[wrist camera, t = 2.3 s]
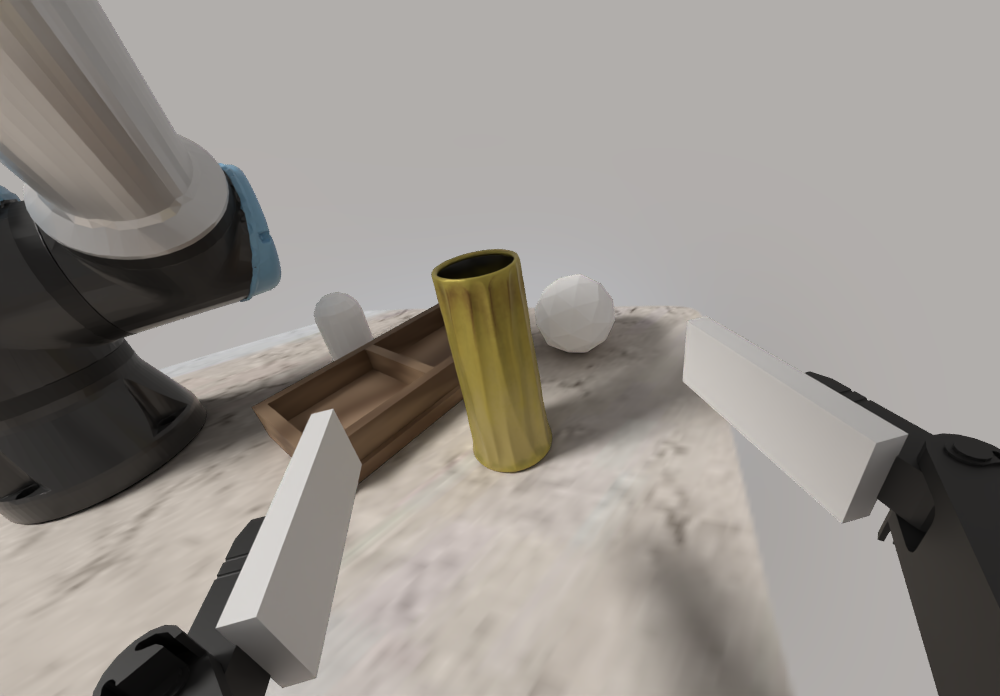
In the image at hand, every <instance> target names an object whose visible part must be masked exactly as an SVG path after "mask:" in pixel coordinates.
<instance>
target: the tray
mask: <svg viewBox="0 0 1000 696" xmlns="http://www.w3.org/2000/svg"><path fill="white" fill-rule="evenodd" d="M462 399H463V394H462V391H461V387H460V383H459V379H458V376H457V372H456V368H455V364H454V360H453V356H452V352H451V349H450V345H449V341H448V337H447V333H446V328H445V324H444V320H443V316H442V313H441V310H440V306H439V303H438V304H437V305H435V306H433V307H431V308H429V309H428V310H426V311H424V312H422V313H420V314H419V315H417V316H415V317H413V318H411V319H410V320H408V321H406V322H404V323H402V324H401V325H399V326H397V327H395V328H393V329H392V330H390V331H388V332H386V333H384V334H383V335H381V336H379V337H377V338H375V339H374V340H372V341H370V342H368V343H366V344H365V345H363V346H361V347H359V348H357V349H356V350H354V351H352V352H350V353H348V354H347V355H345V356H343V357H341V358H339V359H338V360H336V361H334V362H332V363H330V364H329V365H327V366H325V367H323V368H321V369H319V370H318V371H316V372H314V373H312V374H310V375H309V376H307V377H305V378H303V379H301V380H300V381H298V382H296V383H294V384H292V385H291V386H289V387H287V388H285V389H283V390H282V391H280V392H278V393H276V394H274V395H273V396H271V397H269V398H267V399H265V400H264V401H262V402H260V403H258V404H256V405H255V406H253V407H252V409H253V410H254V412H255V413H256V415H257V416H258V418H259V419H260V421H261V422H262V424H263V426H264V428H265V430H266V431H267V433H268V434H269V436H270V437H271V438H272V439H273V440H274V441H275V442H276V443H277V444H278V445H279V446H280V447H281V448H282V449H283V450H284V451H285V452H287V453H288V454H289V455H290V456H291V457H292V456H293V454H294V452H295V449H296V447H297V445H298V443H299V441H300V438H301V436H302V434H303V432H304V429H305V427H306V425H307V423H308V420H309V418H310V416H311V414H314V413H318V412H322V411H326V410H330V409H334V411H335V413H336V415H337V417H338V419H339V421H340V423H341V424H342V426H343V428H344V430H345V432H346V434H347V436H348V438H349V440H350V442H351V444H352V446H353V448H354V450H355V452H356V454H357V456H358V458H359V460H360V462H361V464H362V466H361V471H360V476H359V480H358V484H359V483H360V482H361V481H363V480H364V479H365V478H366V477H367V476H369V475H370V474H371V473H372V472H374V471H375V470H376V469H377V468H379V467H380V466H381V465H382V464H383V463H385V462H386V461H387V460H388V459H390V458H391V457H392V456H393V455H395V454H396V453H397V452H398V451H399V450H401V449H402V448H403V447H404V446H406V445H407V444H408V443H409V442H411V441H412V440H413V439H414V438H415V437H417V436H418V435H419V434H420V433H422V432H423V431H424V430H425V429H427V428H428V427H429V426H430V425H431V424H433V423H434V422H435V421H436V420H438V419H439V418H440V417H441V416H443V415H444V414H445V413H446V412H447V411H449V410H450V409H451V408H452V407H454V406H455V405H456V404H457V403H459V402H460V401H461V400H462Z"/></svg>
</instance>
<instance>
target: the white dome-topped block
mask: <svg viewBox="0 0 1000 696" xmlns="http://www.w3.org/2000/svg"><path fill="white" fill-rule="evenodd" d="M314 317H315V321H316V324H317V326H318V328H319V330H320V332H321V334H322V337H323V339H324V341H325V343H326V345H327V347H328V349H329V351H330V354H331V356H332V358H333V360H334V361H336V360H338V359H339V358H341V357H343V356H345V355H347V354H348V353H350V352H352V351H354V350H356V349H357V348H359V347H361V346H363V345H365V344H366V343H368V342H370V341H372V340H374V338H373V336H372V333H371V331H370V328H369V326H368V323H367V320H366V318H365V315H364V313H363V310H362V308H361V307H360V305H359V303H358V302H357V301H356V300H355V299H354V298H353V297H351V296H350V295H348V294H343V293H339V292H335V293H330V294H327V295H325V296H324V297H322V298H321V299H320V301H319V302H318V303H317V304H316V307H315V311H314Z"/></svg>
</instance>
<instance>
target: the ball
mask: <svg viewBox="0 0 1000 696" xmlns="http://www.w3.org/2000/svg"><path fill="white" fill-rule="evenodd" d="M535 317H536V325H537V327H538V328H539V330H540V332H541V334H542V335H543V337H544V339H545V341H546V342H547V344H548V345H550V346H553V347H555V348H558V349H560V350H563V351H566V352H568V353H575V352H588V351H590V350H591V349H593V348H594V347H596V346H597V345H599V344H600V343H602V342H604V341H605V340H606V338H607V336H608V334H609V332H610V330H611V328H612V326H613V324H614V322H615V313H614V305H613V299H612V298H611V296H610V295H609V294H608V292H607V291H606V290H605V288H604V287H603V286H602V284H601V283H599V282H597V281H595V280H592V279H590V278H588V277H586V276H584V275H582V274H577V275H571V276H566V277H561V278H560V279H557V280H556V281H554V282H553V283H552V284H550V285H549V286H548V287H547V288H545V289H544V290H543V292H542V294H541V297H540V299H539V301H538V303H537V305H536V307H535Z"/></svg>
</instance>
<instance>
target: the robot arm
mask: <svg viewBox="0 0 1000 696" xmlns="http://www.w3.org/2000/svg"><path fill="white" fill-rule="evenodd" d="M0 162H1V163H2V164H3V165H4V166H6V167H7V168H8V169H9V170H10V171H12V172H13V173H14V174H15V175H17V176H18V177H19V178H20V179H21V180H23V181H24V188H23V193H24V194H23V195H24V201H20V199H19V197H18V196H17V195H16V194H14V193H11V192H10V191H8V189H6V188H5V187H3V186H0V514H2V515H3V516H4V517H6V518H7V519H8V520H10V521H11V522H14V523H17V524H34V523H40V522H45V521H49V520H53V519H57V518H60V517H63V516H66V515H69V514H72V513H75V512H77V511H80V510H82V509H85V508H87V507H89V506H92V505H94V504H96V503H98V502H101V501H103V500H105V499H107V498H109V497H111V496H113V495H115V494H117V493H118V492H120V491H122V490H124V489H126V488H128V487H129V486H131V485H133V484H134V483H136V482H138V481H139V480H141V479H143V478H144V477H146V476H147V475H149V474H150V473H152V472H153V471H155V470H156V469H158V468H159V467H160V466H162V465H163V464H165V463H166V462H167V461H168V460H170V459H171V458H172V457H174V456H175V455H176V454H177V453H178V452H180V451H181V450H182V449H183V448H184V447H185V446H186V445H187V444H188V443H189V442H190V441H191V440H192V439H193V438H194V437H195V436H196V434H197V433H198V432H199V431H200V429H201V428H202V426H203V424H204V422H205V420H206V410H205V408H204V407H203V406H202V404H201V403H200V401H199V400H198V399H197V397H196V396H195V395H194V394H193V393H192V392H191V391H189V390H188V389H186V388H185V387H183V386H182V385H180V384H179V383H177V382H176V381H174V380H173V379H171V378H170V377H168V376H167V375H165V374H163V373H162V372H160V371H159V370H157V369H156V368H154V367H153V366H151V365H150V364H148V363H147V362H145V361H144V360H142V359H141V358H140V357H139V356H138V355H137V354H136V353H135V351H134V350H133V349H132V348H131V346H130V345H129V344H128V343H127V341H126V340H125V339H124V337H127V336H129V335H133V334H136V333H139V332H142V331H145V330H148V329H152V328H155V327H158V326H161V325H164V324H168V323H171V322H174V321H177V320H180V319H184V318H186V317H190V316H193V315H196V314H199V313H203V312H206V311H209V310H212V309H215V308H219V307H222V306H226V305H229V304H232V303H236V302H239V301H240V302H243V301H247V300H250V299H251V298H252V297H253V296H255V295H258V294H261V293H264V292H266V291H269V290H271V289H273V288H275V287H276V286H277V285H278V283H279V282H280V279H281V267H280V262H279V258H278V255H277V251H276V248H275V245H274V242H273V239H272V237H271V236H270V235H269V229H268V226H267V222H266V219H265V217H264V214H263V212H262V209H261V207H260V204H259V203H258V200H257V198H256V195H255V193H254V191H253V189H252V187H251V185H250V184H249V182H248V180H247V178H246V176H245V175H244V173H243V172H242V171H241V170H240V169H239V168H238V167H236V166H234V165H224V164H221V163H217V162H216V160H215V159H214V158H213V157H212V156H211V155H210V154H209V153H208V152H207V151H206V150H205V149H203V148H202V147H201V146H199V145H198V144H196V143H195V142H193V141H191V140H189V139H187V138H185V137H183V136H181V135H178V134H176V132H175V130H174V128H173V127H172V125H171V124H170V122H169V120H168V118H167V117H166V115H165V113H164V112H163V110H162V108H161V107H160V105H159V103H158V102H157V100H156V98H155V96H154V95H153V93H152V92H151V90H150V88H149V86H148V85H147V83H146V81H145V80H144V78H143V76H142V75H141V73H140V71H139V70H138V68H137V66H136V64H135V63H134V61H133V59H132V58H131V56H130V54H129V53H128V51H127V49H126V48H125V46H124V45H123V43H122V41H121V39H120V38H119V36H118V34H117V32H116V31H115V29H114V27H113V26H112V24H111V22H110V21H109V19H108V17H107V16H106V14H105V12H104V11H103V9H102V7H101V6H100V4H99V2H98V1H97V0H0ZM683 382H684V383H685V384H686V385H687V386H688V387H690V388H691V389H692V390H693V391H694V392H695V393H696V394H697V395H698V396H700V397H701V398H702V399H703V400H704V401H705V402H706V403H707V404H709V405H710V406H711V407H712V408H713V409H714V410H715V411H716V412H717V413H719V414H720V415H721V416H722V417H723V418H724V419H725V420H726V421H728V422H729V423H730V424H731V425H732V426H733V427H734V428H735V429H736V430H738V431H739V432H740V433H741V434H742V435H743V436H744V437H745V438H747V439H748V440H749V441H750V442H751V443H752V444H753V445H754V446H755V447H757V448H758V449H759V450H760V451H761V452H762V453H764V455H766V456H767V457H768V458H769V459H770V460H771V461H772V462H773V463H774V464H776V465H777V466H778V467H779V468H780V469H781V470H782V471H783V472H785V473H786V474H787V475H788V476H789V477H790V478H791V479H792V480H794V482H796V483H797V484H798V485H799V486H800V487H801V488H802V489H803V490H805V491H806V492H807V493H808V494H809V495H810V496H811V497H812V498H813V499H815V500H816V501H817V502H818V503H819V504H820V505H821V506H822V507H824V508H825V509H826V510H827V511H828V512H829V513H830V514H831V515H833V516H834V517H835V518H836V519H837V520H838V521H839V522H840V523H841V524H842V523H846V522H849V521H853V520H856V519H860V518H863V517H866V516H869V515H870V513H871V511H872V509H873V507H874V505H875V503H876V501H877V499H878V500H880V501H881V502H882V503H884V504H885V505H886V506H887V507H889V508H890V511H889V513H888V515H887V516H886V518H885V520H884V522H883V524H882V526H881V528H880V530H879V532H878V540H881V541H884V540H885V538H886V536H887V535H888V533H889V532H890V531H891V534H892V537H893V540H894V541H893V544H895V547H896V551H897V554H898V557H899V561H900V564H901V568H902V571H903V575H904V578H905V582H906V585H907V588H908V592H909V595H910V599H911V602H912V606H913V609H914V612H915V616H916V619H917V623H918V626H919V630H920V633H921V637H922V640H923V643H924V647H925V650H926V653H927V657H928V660H929V664H930V667H931V671H932V674H933V678H934V681H935V685H936V688H937V691H938V695H939V696H1000V449H998V448H997V447H995V446H993V445H991V444H988V443H985V442H983V441H980V440H978V439H975V438H971V437H966V436H962V435H956V434H938V435H932V434H930V433H928V432H927V431H925V430H923V429H921V428H919V427H918V426H916V425H914V424H912V423H910V422H909V421H907V420H905V419H903V418H902V417H900V416H898V415H896V414H894V413H893V412H891V411H889V410H887V409H885V408H883V407H882V406H880V405H878V404H876V403H875V402H873V401H871V400H870V401H868V400H867V398H866V397H864V396H862V395H860V394H859V393H857V392H855V391H854V392H852V391H851V389H850V388H848V387H846V386H844V385H842V384H841V383H839V382H837V381H835V380H833V379H831V378H828V377H825V376H822V375H819V374H816V373H813V372H806V373H803V372H802V371H800V370H798V369H796V368H795V367H793V366H791V365H790V364H788V363H786V362H784V361H783V360H781V359H779V358H777V357H776V356H774V355H772V354H771V353H769V352H767V351H765V350H764V349H762V348H760V347H759V346H757V345H755V344H754V343H752V342H750V341H748V340H747V339H745V338H743V337H742V336H740V335H738V334H737V333H735V332H733V331H731V330H730V329H728V328H726V327H725V326H723V325H721V324H719V323H718V322H716V321H714V320H712V319H711V318H709V317H707V316H704V317H700V318H696V319H692V320H688V321H687V328H686V341H685V355H684V368H683ZM361 466H362V464H361V462H360V460H359V458H358V456H357V454H356V452H355V450H354V448H353V446H352V444H351V442H350V440H349V438H348V436H347V434H346V432H345V430H344V428H343V426H342V424H341V423H340V421H339V419H338V417H337V415H336V413H335V411H334V409H330V410H326V411H322V412H318V413H314V414H311V416H310V418H309V420H308V423H307V425H306V427H305V429H304V432H303V434H302V436H301V438H300V441H299V443H298V445H297V447H296V449H295V452H294V454H293V456H292V458H291V461H290V463H289V465H288V467H287V470H286V472H285V474H284V476H283V478H282V481H281V483H280V485H279V487H278V490H277V492H276V494H275V496H274V499H273V501H272V503H271V505H270V507H269V510H268V512H267V514H266V516H264V517H261V518H257V519H253V520H251V521H250V522H249V523H248V524H247V526H246V527H245V528H244V529H243V530H242V532H241V533H240V534H239V535H238V536H237V538H236V539H235V540H234V542H233V544H232V546H231V548H230V550H229V552H228V554H227V556H226V558H225V559H226V562H225V563H223V564H222V566H221V568H220V570H219V572H218V574H217V579H216V580H214V582H213V584H212V586H211V588H210V590H209V592H208V594H207V596H206V598H205V600H204V602H203V604H202V606H201V608H200V610H199V612H198V614H197V616H196V618H195V620H194V622H193V624H192V626H191V628H190V630H189V632H188V634H186V633H185V632H183V631H182V630H181V629H180V628H179V627H177V626H176V625H164V626H161V627H158V628H156V629H153V630H150V631H149V632H147V633H146V634H144V635H143V636H141V637H140V638H138V639H137V640H135V641H134V642H133V643H132V644H130V645H129V646H128V647H127V648H126V649H125V650H124V651H123V652H122V653H121V654H119V655H118V656H117V657H116V659H115V660H114V661H113V662H112V664H111V665H110V666H109V667H108V669H107V670H106V671H105V672H104V673H103V675H102V677H101V679H100V681H99V682H98V684H97V686H96V688H95V690H94V692H93V696H265V693H266V690H267V686H268V683H269V680H270V677H271V678H272V679H273V680H274V681H275V682H276V683H277V684H278V685H280V686H281V687H282V688H284V687H288V686H291V685H294V684H298V683H301V682H305V681H308V680H312V679H315V678H316V677H317V673H318V668H319V663H320V658H321V654H322V649H323V644H324V640H325V635H326V630H327V626H328V621H329V616H330V612H331V607H332V602H333V597H334V593H335V588H336V583H337V579H338V574H339V569H340V565H341V560H342V555H343V551H344V546H345V541H346V536H347V532H348V527H349V522H350V518H351V513H352V508H353V504H354V499H355V494H356V490H357V485H358V480H359V476H360V471H361Z"/></svg>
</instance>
